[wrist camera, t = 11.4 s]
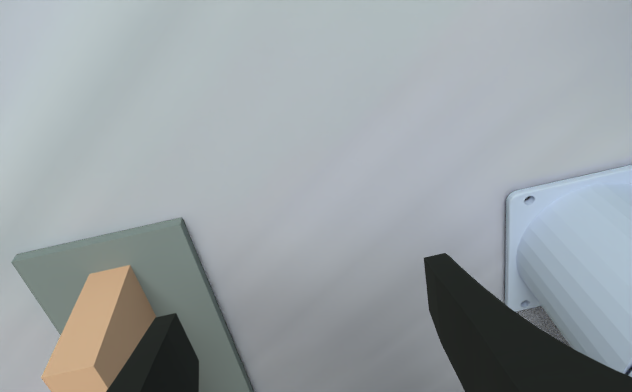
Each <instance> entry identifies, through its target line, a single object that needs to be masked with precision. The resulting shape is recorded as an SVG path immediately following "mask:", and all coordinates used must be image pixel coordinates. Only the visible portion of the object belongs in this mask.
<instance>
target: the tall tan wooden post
mask: <svg viewBox="0 0 632 392" xmlns="http://www.w3.org/2000/svg"><path fill="white" fill-rule="evenodd" d="M155 317H156V315H155V313H154V311H153V309H152V307H151V305H150V303H149V301H148V299H147V297H146V295H145V293H144V291H143V289H142V287H141V285H140V284H139V282H138V280H137V278H136V276H135V274H134V272H133V270H132V268H131V266H130V265H128V266H123V267H119V268H114V269H110V270H105V271H101V272H96V273H92V274H89V276H88V278H87V280H86V282H85V284H84V287H83V289H82V291H81V293H80V295H79V297H78V299H77V302H76V304H75V306H74V308H73V310H72V312H71V315H70V317H69V319H68V321H67V323H66V325H65V327H64V330H63V332H62V334H61V336H60V338H59V340H58V342H57V345H56V347H55V349H54V351H53V353H52V355H51V358H50V360H49V362H48V364H47V366H46V368H45V370H44V373H43V375H42V377H41V378H42V380H43V381H44V382H45V384H46V385H47V386H48V388H49V389H50V390H51V392H106V391H107V389H108V388H109V387H110V385H111V384H112V383H113V381H114V380H115V378H116V377H117V375H118V374H119V372H120V371H121V369H122V368H123V366H124V365H125V363H126V362H127V360H128V359H129V357H130V356H131V354H132V353H133V351H134V349H135V348H136V346H137V345H138V343H139V342H140V340H141V339H142V337H143V336H144V334H145V332H146V331H147V329H148V328H149V326H150V325H151V323H152V322H153V320H154V319H155Z"/></svg>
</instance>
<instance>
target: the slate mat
mask: <svg viewBox="0 0 632 392" xmlns="http://www.w3.org/2000/svg"><path fill="white" fill-rule="evenodd" d="M12 264H13V265H14V267H15V268H16V270H17V271H18V273H19V274H20V276H21V277H22V279H23V280H24V282H25V283H26V285H27V286H28V288H29V289H30V291H31V292H32V294H33V295H34V297H35V298H36V300H37V301H38V303H39V304H40V305H41V307H42V308H43V310H44V311H45V313H46V314H47V316H48V317H49V319H50V320H51V322H52V323H53V325H54V326H55V328H56V329H57V331H58V332H59V334H60V335H61V334H62V332H63V330H64V327H65V325H66V323H67V321H68V319H69V317H70V315H71V312H72V310H73V308H74V306H75V304H76V302H77V299H78V297H79V295H80V293H81V291H82V289H83V287H84V284H85V282H86V280H87V278H88V276H89V274H92V273H96V272H101V271H105V270H110V269H114V268H119V267H123V266H128V265H130V266H131V268H132V270H133V272H134V274H135V276H136V278H137V280H138V282H139V284H140V285H141V287H142V289H143V291H144V293H145V295H146V297H147V299H148V301H149V303H150V305H151V307H152V309H153V311H154V313H155V315H156V317H160V316H164V315H169V314H173V313H176V314H177V316H178V318H179V320H180V322H181V324H182V326H183V328H184V330H185V332H186V335H187V337H188V339H189V341H190V343H191V345H192V347H193V349H194V351H195V353H196V355H197V358H198V360H199V392H254V391H253V389H252V387H251V384H250V382H249V379H248V377H247V374H246V372H245V370H244V367H243V365H242V362H241V360H240V357H239V355H238V353H237V350H236V348H235V345H234V343H233V340H232V338H231V336H230V333H229V331H228V328H227V326H226V323H225V321H224V319H223V316H222V314H221V311H220V309H219V306H218V304H217V302H216V299H215V297H214V294H213V292H212V289H211V287H210V285H209V282H208V280H207V277H206V275H205V272H204V270H203V268H202V265H201V263H200V260H199V258H198V256H197V253H196V251H195V248H194V246H193V243H192V241H191V239H190V236H189V234H188V231H187V229H186V226H185V224H184V222H183V219H182V218H177V219H173V220H168V221H164V222H159V223H155V224H151V225H146V226H142V227H137V228H133V229H128V230H124V231H119V232H115V233H110V234H106V235H101V236H97V237H93V238H88V239H84V240H79V241H75V242H70V243H66V244H61V245H57V246H52V247H48V248H43V249H39V250H35V251H30V252H26V253H21V254H17V255H16V256H15V258H14V259H13V261H12Z"/></svg>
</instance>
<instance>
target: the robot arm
mask: <svg viewBox="0 0 632 392" xmlns="http://www.w3.org/2000/svg"><path fill="white" fill-rule="evenodd" d="M528 196H531V197H530V198H529V199H528V200H526V201H524V200H525V199H526V198H527V197H528ZM424 264H425V274H426V284H427V294H428V304H429V311H430V314H431V317H432V319H433V322H434V325H435V328H436V331H437V333H438V336H439V339H440V341H441V344H442V346H443V348H444V350H445V352H446V354H447V356H448V358H449V360H450V362H451V364H452V366H453V368H454V370H455V372H456V374H457V376H458V378H459V380H460V382H461V384H462V386H463V388H464V390H465V392H632V165H628V166H624V167H620V168H615V169H611V170H606V171H602V172H597V173H593V174H588V175H584V176H579V177H575V178H570V179H566V180H561V181H557V182H552V183H548V184H543V185H539V186H534V187H530V188H525V189H521V190H516V191H514V192H512V193H511V194H509V196H508V197H507V200H506V269H505V304H504V303H503V302H501V301H500V300H499V299H498V298H496V297H495V296H494V295H493V294H491V293H490V292H489V291H488V290H486V289H485V288H484V287H483V286H482V285H480V284H479V283H478V282H477V281H476V280H475V279H474V278H472V277H471V276H470V275H469V274H468V273H467V272H466V271H465V270H464V269H462V268H461V267H460V266H459V265H458V264H457V263H456V262H455V261H454V260H453V259H452V258H451V257H450V256H449V255H447V254H446V253H444V254H439V255H435V256H430V257H426V258H424ZM523 301H524V302H523ZM539 306H542V307H543V309H544V310H545V311H546V313H547V314H548V316H549V317H550V318H551V320H552V321H553V322H554V324H555V325H556V327H557V328H558V329H559V331H560V332H561V334H562V335H563V336H564V338H565V339H566V340H567V342H568V343H569V345H570V346H571V347H572V348H571V347H569V346H567V345H566V344H564V343H562V342H560V341H559V340H557V339H555V338H554V337H552V336H550V335H549V334H547V333H546V332H544V331H542V330H541V329H539V328H538V327H536V326H535V325H533V324H532V323H530V322H529V321H527V320H526V319H524V318H523V317H522V316H520V315H519V314H517V313H516V311H521V310H525V309H530V308H534V307H539ZM106 392H199V360H198V358H197V355H196V353H195V351H194V349H193V347H192V345H191V343H190V341H189V339H188V337H187V335H186V332H185V330H184V328H183V326H182V324H181V322H180V320H179V318H178V316H177V314H176V313H173V314H169V315H164V316H160V317H155V319H154V320H153V322H152V323H151V325H150V326H149V328H148V329H147V331H146V332H145V334H144V336H143V337H142V339H141V340H140V342H139V343H138V345H137V346H136V348H135V349H134V351H133V353H132V354H131V356H130V357H129V359H128V360H127V362H126V363H125V365H124V366H123V368H122V369H121V371H120V372H119V374H118V375H117V377H116V378H115V380H114V381H113V383H112V384H111V385H110V387H109V388H108V389H107V391H106Z"/></svg>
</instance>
